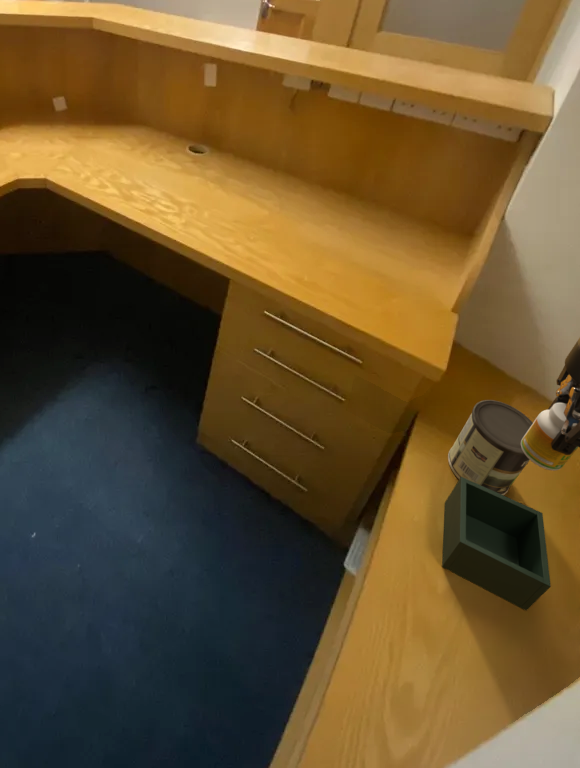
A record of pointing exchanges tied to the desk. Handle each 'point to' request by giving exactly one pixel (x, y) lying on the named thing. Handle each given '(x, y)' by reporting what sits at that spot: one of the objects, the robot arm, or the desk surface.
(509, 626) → the desk surface
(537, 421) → the supplement bottle
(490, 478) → the coffee can
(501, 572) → the bin
